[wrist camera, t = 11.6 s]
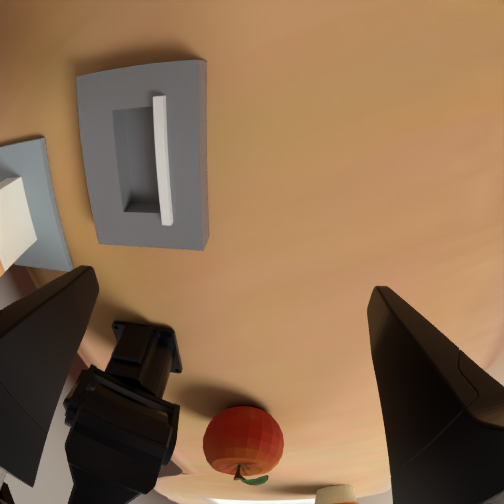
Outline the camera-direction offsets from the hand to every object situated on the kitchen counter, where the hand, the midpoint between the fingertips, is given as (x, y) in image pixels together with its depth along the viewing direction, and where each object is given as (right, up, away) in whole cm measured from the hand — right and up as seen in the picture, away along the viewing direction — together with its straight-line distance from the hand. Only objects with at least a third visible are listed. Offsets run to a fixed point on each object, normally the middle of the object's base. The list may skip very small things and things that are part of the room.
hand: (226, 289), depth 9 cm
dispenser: (-6, +8, +10) cm, 14 cm away
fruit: (0, -19, +26) cm, 32 cm away
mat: (-19, +5, +13) cm, 24 cm away
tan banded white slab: (-19, +5, +12) cm, 23 cm away
